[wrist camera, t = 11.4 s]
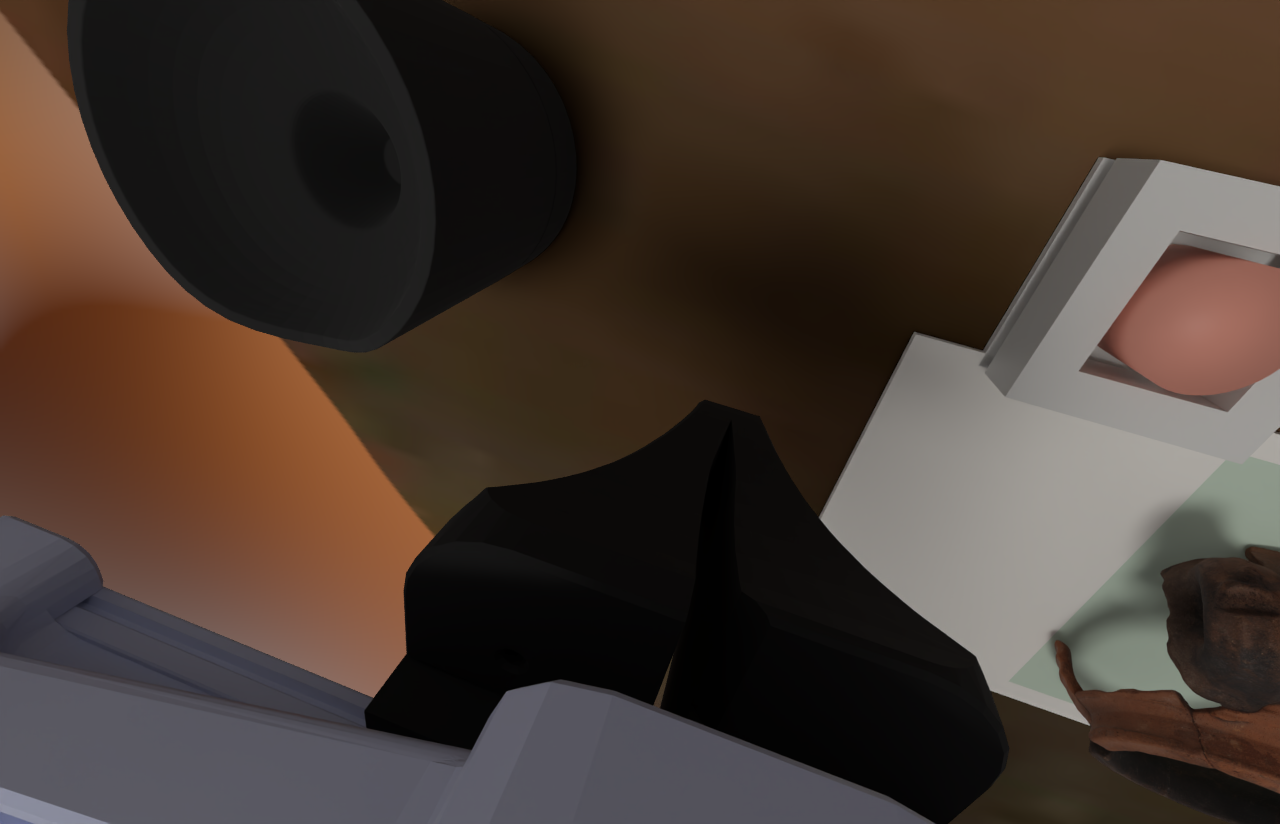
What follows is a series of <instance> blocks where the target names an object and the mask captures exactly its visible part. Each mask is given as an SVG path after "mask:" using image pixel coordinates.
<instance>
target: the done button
mask: <svg viewBox="0 0 1280 824" xmlns="http://www.w3.org/2000/svg"><path fill="white" fill-rule="evenodd" d="M1097 346H1098V347H1100V348H1101V349H1103V350H1104V351H1106V352H1107V353H1109V354H1110V355H1112V356H1113V357H1115V358H1116V359H1118V360H1119V361H1121V362H1123V363H1124V364H1126V365H1127V366H1129V367H1130V368H1132V369H1133V370H1135V371H1136V372H1138V373H1139V374H1141V375H1142V376H1144V377H1145V378H1147V379H1149V380H1150V381H1152V382H1153V383H1155V384H1156V385H1158V386H1160V387H1162V388H1164V389H1166V390H1168V391H1171V392H1174V393H1179V394H1184V395H1215V394H1220V393H1226V392H1230V391H1234V390H1237V389H1240V388H1243V387H1246V386H1249V385H1251V384H1253V383H1256V382H1258V381H1260V380H1262V379H1264V378H1266V377H1268V376H1269V375H1271V374H1273V373H1274V372H1276V371H1277V370H1279V369H1280V268H1276V267H1272V266H1268V265H1264V264H1260V263H1256V262H1252V261H1248V260H1244V259H1240V258H1236V257H1232V256H1228V255H1224V254H1220V253H1216V252H1213V251H1209V250H1205V249H1201V248H1197V247H1193V246H1187V245H1176V244H1172V245H1169V246H1168V247H1167V249H1166V250H1165V251H1164V253H1163V254H1162V256H1161V257H1160V258H1159V260H1158V261H1157V263H1156V264H1155V265H1154V267H1153V268H1152V270H1151V271H1150V272H1149V274H1148V275H1147V276H1146V278H1145V279H1144V281H1143V282H1142V283H1141V285H1140V286H1139V288H1138V289H1137V290H1136V292H1135V293H1134V295H1133V296H1132V297H1131V299H1130V300H1129V302H1128V303H1127V304H1126V306H1125V307H1124V308H1123V310H1122V311H1121V313H1120V314H1119V315H1118V317H1117V318H1116V320H1115V321H1114V322H1113V324H1112V325H1111V327H1110V328H1109V329H1108V331H1107V332H1106V333H1105V335H1104V336H1103V338H1102V339H1101V340H1100V342H1099V343H1098V345H1097Z"/></svg>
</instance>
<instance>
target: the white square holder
mask: <svg viewBox="0 0 1280 824" xmlns="http://www.w3.org/2000/svg"><path fill="white" fill-rule="evenodd" d="M1172 244H1176V245H1187V246H1193V247H1197V248H1201V249H1205V250H1209V251H1213V252H1216V253H1220V254H1224V255H1228V256H1232V257H1236V258H1240V259H1244V260H1248V261H1252V262H1256V263H1260V264H1264V265H1268V266H1272V267H1276V268H1280V186H1275V185H1271V184H1266V183H1262V182H1257V181H1253V180H1248V179H1244V178H1239V177H1235V176H1230V175H1226V174H1221V173H1217V172H1212V171H1208V170H1203V169H1199V168H1194V167H1190V166H1185V165H1181V164H1177V163H1172V162H1168V161H1163V160H1150V159H1126V158H1117V159H1116V160H1113V159H1108V158H1103V157H1098V159H1097V161H1096V162H1095V164H1094V166H1093V168H1092V169H1091V171H1090V173H1089V174H1088V176H1087V178H1086V179H1085V181H1084V183H1083V184H1082V186H1081V188H1080V189H1079V191H1078V193H1077V194H1076V196H1075V198H1074V199H1073V201H1072V203H1071V204H1070V206H1069V208H1068V209H1067V211H1066V213H1065V214H1064V216H1063V218H1062V219H1061V221H1060V223H1059V224H1058V226H1057V228H1056V229H1055V231H1054V233H1053V234H1052V236H1051V238H1050V239H1049V241H1048V243H1047V244H1046V246H1045V248H1044V249H1043V251H1042V253H1041V254H1040V256H1039V258H1038V259H1037V261H1036V263H1035V264H1034V266H1033V268H1032V269H1031V271H1030V273H1029V274H1028V276H1027V278H1026V279H1025V281H1024V283H1023V284H1022V286H1021V288H1020V289H1019V291H1018V293H1017V294H1016V296H1015V298H1014V299H1013V301H1012V303H1011V304H1010V306H1009V308H1008V310H1007V311H1006V313H1005V315H1004V316H1003V318H1002V320H1001V321H1000V323H999V325H998V326H997V328H996V330H995V331H994V333H993V335H992V336H991V338H990V340H989V341H988V343H987V345H986V346H985V348H984V350H983V351H984V352H985V353H986V354H985V355H984V356H986V357H983V360H981V362H980V364H979V366H981V367H987V370H986V371H985V374H986V375H987V377H988V378H989V379H990V380H991V381H992V382H993V384H994V385H995V386H996V387H997V388H998V389H999V391H1000V392H1001V393H1002V394H1003V395H1004V396H1005V397H1007V398H1010V399H1014V400H1017V401H1021V402H1024V403H1028V404H1031V405H1035V406H1038V407H1042V408H1045V409H1049V410H1052V411H1056V412H1059V413H1063V414H1066V415H1070V416H1073V417H1077V418H1080V419H1084V420H1087V421H1091V422H1094V423H1098V424H1101V425H1105V426H1108V427H1112V428H1116V429H1119V430H1123V431H1126V432H1130V433H1133V434H1137V435H1140V436H1144V437H1147V438H1151V439H1154V440H1158V441H1161V442H1165V443H1168V444H1172V445H1175V446H1179V447H1182V448H1186V449H1189V450H1193V451H1196V452H1200V453H1203V454H1207V455H1210V456H1214V457H1217V458H1221V459H1224V460H1228V461H1231V462H1235V463H1238V464H1243V463H1244V462H1245V461H1246V460H1247V459H1248V458H1249V457H1250V456H1251V455H1252V454H1253V453H1254V452H1255V451H1256V450H1257V449H1258V448H1259V447H1260V446H1261V445H1262V444H1263V443H1264V442H1265V441H1266V440H1267V439H1268V438H1269V437H1270V436H1271V435H1272V434H1273V433H1274V432H1275V431H1276V430H1277V429H1278V428H1279V427H1280V369H1279V370H1277V371H1276V372H1274V373H1273V374H1271V375H1269V376H1268V377H1266V378H1264V379H1262V380H1260V381H1258V382H1256V383H1253V384H1251V385H1249V386H1246V387H1243V388H1240V389H1237V390H1234V391H1230V392H1226V393H1220V394H1215V395H1184V394H1179V393H1174V392H1171V391H1168V390H1166V389H1164V388H1162V387H1160V386H1158V385H1156V384H1155V383H1153V382H1152V381H1150V380H1149V379H1147V378H1145V377H1144V376H1142V375H1141V374H1139V373H1138V372H1136V371H1135V370H1133V369H1132V368H1130V367H1129V366H1127V365H1126V364H1124V363H1123V362H1121V361H1119V360H1118V359H1116V358H1115V357H1113V356H1112V355H1110V354H1109V353H1107V352H1106V351H1104V350H1103V349H1101V348H1100V347H1098V346H1097V345H1098V343H1099V342H1100V340H1101V339H1102V338H1103V336H1104V335H1105V333H1106V332H1107V331H1108V329H1109V328H1110V327H1111V325H1112V324H1113V322H1114V321H1115V320H1116V318H1117V317H1118V315H1119V314H1120V313H1121V311H1122V310H1123V308H1124V307H1125V306H1126V304H1127V303H1128V302H1129V300H1130V299H1131V297H1132V296H1133V295H1134V293H1135V292H1136V290H1137V289H1138V288H1139V286H1140V285H1141V283H1142V282H1143V281H1144V279H1145V278H1146V276H1147V275H1148V274H1149V272H1150V271H1151V270H1152V268H1153V267H1154V265H1155V264H1156V263H1157V261H1158V260H1159V258H1160V257H1161V256H1162V254H1163V253H1164V251H1165V250H1166V249H1167V247H1168V246H1169V245H1172ZM989 355H990V356H991V357H989ZM987 356H988V357H989V358H987ZM993 357H994V358H993ZM985 358H986V359H985ZM986 360H988V361H987V362H986ZM989 360H990V362H989ZM991 360H992V362H991ZM983 362H984V363H983ZM982 363H983V364H982ZM986 364H987V365H988V366H987V365H986ZM989 364H990V365H989ZM984 365H985V366H984Z"/></svg>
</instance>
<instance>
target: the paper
mask: <svg viewBox="0 0 1280 824" xmlns="http://www.w3.org/2000/svg"><path fill="white" fill-rule="evenodd" d="M985 354H986V353H985V352H984V351H983V350H979V349H975V348H972V347H968V346H964V345H961V344H957V343H954V342H950V341H946V340H943V339H939V338H935V337H932V336H928V335H925V334H921V333H917V332H914V333H913V335H912V337H911V339H910V341H909V343H908V344H907V346H906V348H905V350H904V352H903V354H902V356H901V358H900V360H899V362H898V364H897V366H896V368H895V370H894V372H893V374H892V376H891V378H890V380H889V382H888V383H887V385H886V387H885V389H884V391H883V393H882V395H881V397H880V399H879V401H878V403H877V405H876V407H875V409H874V411H873V413H872V415H871V417H870V419H869V421H868V422H867V424H866V426H865V428H864V430H863V432H862V434H861V436H860V438H859V440H858V442H857V444H856V446H855V448H854V450H853V452H852V454H851V456H850V458H849V460H848V462H847V463H846V465H845V467H844V469H843V471H842V473H841V475H840V477H839V479H838V481H837V483H836V485H835V487H834V489H833V491H832V493H831V495H830V497H829V499H828V501H827V502H826V504H825V506H824V508H823V510H822V512H821V514H820V516H819V518H820V520H821V521H822V522H823V523H824V525H825V526H826V527H827V528H828V530H829V531H830V532H831V533H832V534H833V535H834V536H835V537H836V539H837V540H838V541H839V542H840V543H841V544H842V545H843V546H844V547H845V548H846V549H847V550H848V551H849V552H850V553H851V554H852V555H853V556H854V557H855V558H856V559H857V560H858V561H859V562H860V563H861V564H862V565H863V566H864V567H865V568H866V569H867V570H868V571H869V572H870V573H871V574H872V575H873V576H874V577H876V578H877V579H878V580H879V581H880V582H881V583H882V584H883V585H884V586H886V587H887V588H888V589H889V590H890V591H892V592H893V593H894V594H895V595H896V596H897V597H899V598H900V599H901V600H902V601H903V602H904V603H906V604H907V605H908V606H909V607H910V608H912V609H913V610H914V611H915V612H917V613H918V614H919V615H921V616H922V617H923V618H925V619H926V620H927V621H929V622H930V623H931V624H933V625H934V626H936V627H937V628H938V629H940V630H941V631H942V632H944V633H945V634H946V635H948V636H949V637H950V638H952V639H953V640H955V641H956V642H957V643H959V644H960V645H961V646H963V647H964V648H965V649H967V650H968V651H969V652H971V653H972V654H974V655H975V656H976V658H977V660H978V662H979V664H980V667H981V669H982V671H983V674H984V676H985V679H986V681H987V684H988V686H989V689H990V690H991V691H993V692H996V693H999V694H1002V695H1005V696H1008V697H1010V698H1013V699H1016V700H1019V701H1022V702H1025V703H1027V704H1030V705H1033V706H1036V707H1039V708H1042V709H1044V710H1047V711H1050V712H1053V713H1056V714H1059V715H1061V716H1064V717H1067V718H1070V719H1073V720H1076V721H1078V722H1081V723H1084V724H1087V725H1090V724H1089V723H1088V722H1087V720H1086V719H1085V718H1084V717H1083V716H1082V714H1081V713H1080V712H1079V711H1078V710H1077V708H1076V706H1075V705H1074V703H1073V701H1072V700H1071V698H1070V697H1069V695H1068V692H1067V690H1066V688H1065V687H1064V685H1063V684H1062V682H1061V680H1060V677H1059V667H1058V666H1057V663H1056V650H1055V641H1056V640H1059V641H1062V642H1063V643H1065V644H1066V645H1067V646H1068V647H1069V649H1070V651H1071V656H1072V665H1073V671H1074V675H1075V677H1076V680H1077V682H1078V683H1079V685H1080V686H1081V688H1082V689H1083V691H1084V690H1101V691H1105V692H1114V691H1117V690H1119V689H1137V690H1141V691H1153V690H1175V691H1177V692H1179V693H1180V694H1181V695H1182V696H1183V698H1184V699H1185V700H1186V701H1187V702H1188V704H1189V706H1190V707H1191V708H1193V709H1200V708H1212V707H1219V706H1222V705H1221V704H1219V703H1216V702H1213V701H1209V700H1206V699H1204V698H1202V697H1201V696H1199V695H1197V694H1196V693H1194V692H1193V691H1192V690H1191V689H1190V688H1189V687H1188V686H1187V685H1186V684H1185V682H1184V681H1183V679H1182V677H1181V674H1180V673H1179V671H1178V669H1177V668H1176V666H1175V665H1174V663H1173V662H1172V660H1171V659H1170V657H1169V655H1168V652H1167V641H1168V632H1167V628H1166V620H1167V618H1168V617H1169V615H1170V611H1169V608H1168V606H1167V599H1166V597H1165V595H1164V591H1163V589H1162V584H1163V582H1164V579H1163V578H1162V576H1161V575H1160V573H1161V571H1162V570H1164V569H1166V568H1168V567H1170V566H1172V565H1175V564H1179V563H1182V562H1186V561H1190V560H1194V559H1200V558H1212V557H1218V558H1228V557H1237V558H1242V559H1245V560H1248V559H1247V558H1246V556H1245V550H1246V549H1247V548H1249V547H1259V548H1265V549H1269V550H1274V551H1278V552H1280V432H1276V431H1275V432H1274V433H1273V434H1272V435H1271V436H1270V437H1269V438H1268V439H1267V440H1266V441H1265V442H1264V443H1263V444H1262V445H1261V446H1260V447H1259V448H1258V449H1257V450H1256V451H1255V452H1254V453H1253V454H1252V455H1251V456H1250V457H1249V458H1248V459H1247V460H1246V461H1245V462H1244V463H1243V464H1238V463H1235V462H1231V461H1228V460H1224V459H1221V458H1217V457H1214V456H1210V455H1207V454H1203V453H1200V452H1196V451H1193V450H1189V449H1186V448H1182V447H1179V446H1175V445H1172V444H1168V443H1165V442H1161V441H1158V440H1154V439H1151V438H1147V437H1144V436H1140V435H1137V434H1133V433H1130V432H1126V431H1123V430H1119V429H1116V428H1112V427H1108V426H1105V425H1101V424H1098V423H1094V422H1091V421H1087V420H1084V419H1080V418H1077V417H1073V416H1070V415H1066V414H1063V413H1059V412H1056V411H1052V410H1049V409H1045V408H1042V407H1038V406H1035V405H1031V404H1028V403H1024V402H1021V401H1017V400H1014V399H1010V398H1007V397H1005V396H1004V395H1003V394H1002V393H1001V392H1000V391H999V389H998V388H997V387H996V386H995V385H994V384H993V382H992V381H991V380H990V379H989V378H988V377H987V375H986V374H985V371H986V370H987V367H981V366H979V364H980V362H981V360H983V357H986V356H984V355H985ZM989 357H991V356H990V355H989ZM989 357H988V356H987V358H989ZM993 358H994V357H993ZM985 359H986V358H985ZM987 361H988V360H986V362H987ZM989 362H990V360H989ZM991 362H992V360H991ZM983 363H984V362H983ZM983 363H982V364H983ZM986 365H987V364H986ZM989 365H990V364H989ZM984 366H985V365H984ZM987 366H988V365H987ZM1248 561H1249V560H1248Z"/></svg>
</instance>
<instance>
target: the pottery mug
mask: <svg viewBox="0 0 1280 824" xmlns="http://www.w3.org/2000/svg"><path fill="white" fill-rule="evenodd" d="M1245 556H1246V558H1247V559H1248V560H1249V561H1248V560H1245V559H1242V558H1237V557H1228V558H1218V557H1212V558H1200V559H1194V560H1190V561H1186V562H1182V563H1179V564H1175V565H1172V566H1170V567H1168V568H1166V569H1164V570H1162V571H1161V573H1160V575H1161V576H1162V578H1163V579H1164V582H1163V584H1162V589H1163V591H1164V595H1165V597H1166V599H1167V606H1168V608H1169V611H1170V615H1169V617H1168V618H1167V620H1166V628H1167V632H1168V641H1167V652H1168V655H1169V657H1170V659H1171V660H1172V662H1173V663H1174V665H1175V666H1176V668H1177V669H1178V671H1179V673H1180V674H1181V677H1182V679H1183V681H1184V682H1185V684H1186V685H1187V686H1188V687H1189V688H1190V689H1191V690H1192V691H1193V692H1194V693H1196V694H1197V695H1199V696H1201V697H1202V698H1204V699H1206V700H1209V701H1213V702H1216V703H1219V704H1221V705H1222V706H1219V707H1212V708H1200V709H1193V708H1191V707H1190V706H1189V704H1188V702H1187V701H1186V700H1185V699H1184V698H1183V696H1182V695H1181V694H1180V693H1179V692H1177V691H1175V690H1153V691H1141V690H1137V689H1119V690H1117V691H1114V692H1105V691H1101V690H1084V691H1083V689H1082V688H1081V686H1080V685H1079V683H1078V682H1077V680H1076V677H1075V675H1074V671H1073V665H1072V656H1071V651H1070V649H1069V647H1068V646H1067V645H1066V644H1065V643H1063V642H1062V641H1059V640H1056V641H1055V650H1056V663H1057V666H1058V667H1059V677H1060V680H1061V682H1062V684H1063V685H1064V687H1065V688H1066V690H1067V692H1068V695H1069V697H1070V698H1071V700H1072V701H1073V703H1074V705H1075V706H1076V708H1077V710H1078V711H1079V712H1080V713H1081V714H1082V716H1083V717H1084V718H1085V719H1086V720H1087V722H1088V723H1089V724H1090V726H1091V729H1090V732H1089V738H1090V739H1091V740H1090V746H1089V752H1090V753H1091V755H1092V756H1093V757H1095V758H1096V759H1097V760H1098V761H1100V762H1101V763H1102V764H1103V765H1105V766H1107V767H1108V768H1110V769H1111V770H1113V771H1114V772H1116V773H1118V774H1120V775H1122V776H1124V777H1125V778H1127V779H1129V780H1131V781H1133V782H1135V783H1137V784H1139V785H1141V786H1143V787H1145V788H1147V789H1149V790H1151V791H1153V792H1155V793H1157V794H1160V795H1162V796H1165V797H1167V798H1169V799H1171V800H1173V801H1175V802H1177V803H1180V804H1183V805H1185V806H1187V807H1190V808H1192V809H1194V810H1197V811H1200V812H1202V813H1204V814H1207V815H1209V816H1212V817H1215V818H1218V819H1221V820H1224V821H1226V822H1229V823H1232V824H1280V552H1278V551H1274V550H1269V549H1265V548H1259V547H1249V548H1247V549H1246V550H1245Z"/></svg>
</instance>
